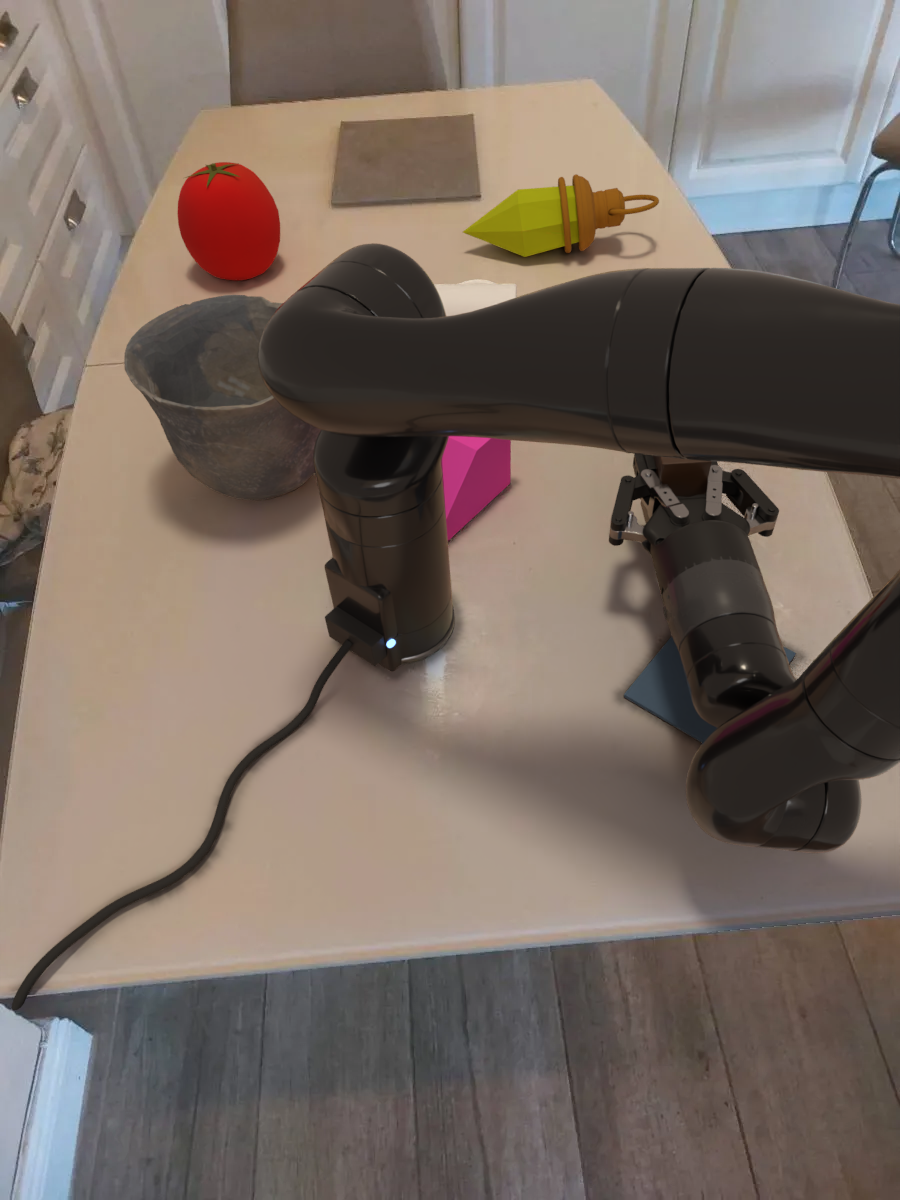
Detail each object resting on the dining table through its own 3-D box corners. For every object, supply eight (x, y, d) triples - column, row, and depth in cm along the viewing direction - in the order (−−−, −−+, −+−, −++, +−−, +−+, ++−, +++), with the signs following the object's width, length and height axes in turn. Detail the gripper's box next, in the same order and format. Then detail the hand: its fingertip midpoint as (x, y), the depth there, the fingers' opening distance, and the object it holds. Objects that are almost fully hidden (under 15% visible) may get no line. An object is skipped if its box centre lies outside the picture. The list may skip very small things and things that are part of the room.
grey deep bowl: (154, 537, 88) (100, 413, 76) (184, 422, 99) (142, 298, 88) (337, 528, 87) (311, 401, 76) (347, 413, 99) (326, 288, 87)
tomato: (182, 294, 116) (149, 184, 105) (204, 249, 123) (176, 141, 113) (278, 294, 115) (255, 183, 104) (295, 248, 122) (275, 140, 112)
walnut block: (695, 539, 81) (712, 461, 74) (649, 541, 81) (662, 464, 74) (683, 500, 84) (698, 422, 77) (640, 503, 84) (651, 425, 77)
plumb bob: (466, 278, 116) (665, 247, 113) (454, 204, 111) (662, 169, 108) (468, 257, 124) (655, 227, 120) (457, 187, 118) (652, 153, 115)
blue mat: (724, 756, 69) (725, 753, 69) (623, 696, 73) (623, 694, 73) (795, 655, 75) (796, 652, 75) (697, 605, 79) (698, 602, 79)
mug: (515, 372, 102) (515, 309, 96) (427, 372, 103) (422, 309, 97) (517, 313, 110) (517, 250, 104) (435, 313, 111) (431, 251, 105)
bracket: (430, 444, 95) (423, 360, 87) (510, 482, 90) (510, 398, 82) (353, 508, 89) (338, 425, 81) (434, 554, 84) (426, 470, 77)
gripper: (821, 556, 65) (759, 408, 77) (624, 568, 66) (591, 419, 77) (797, 622, 71) (742, 475, 82) (615, 633, 71) (585, 485, 83)
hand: (669, 449), depth 79 cm, fingers closed on walnut block, 4 cm apart
